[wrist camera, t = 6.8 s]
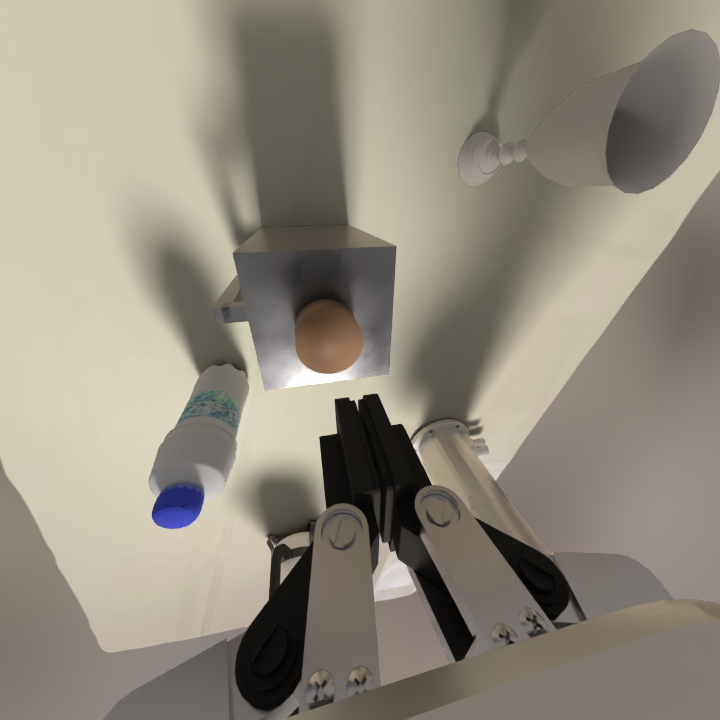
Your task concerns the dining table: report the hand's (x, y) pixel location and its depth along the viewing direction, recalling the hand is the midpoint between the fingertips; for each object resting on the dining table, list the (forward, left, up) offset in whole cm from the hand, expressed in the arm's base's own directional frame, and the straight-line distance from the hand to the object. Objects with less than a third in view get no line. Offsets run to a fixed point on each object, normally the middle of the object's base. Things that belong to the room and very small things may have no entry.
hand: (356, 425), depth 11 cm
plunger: (0, 0, -25) cm, 25 cm away
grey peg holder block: (+2, 0, -26) cm, 26 cm away
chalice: (-20, -11, -27) cm, 35 cm away
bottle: (+13, +14, -27) cm, 33 cm away
